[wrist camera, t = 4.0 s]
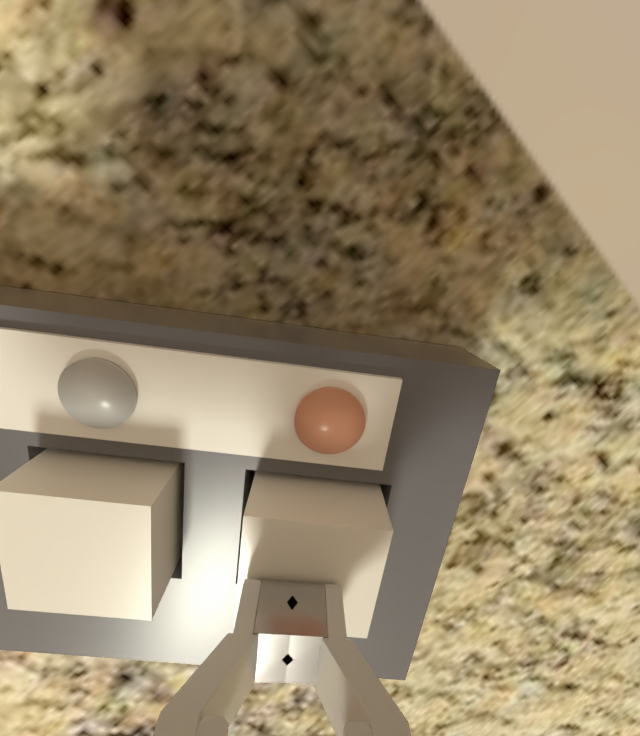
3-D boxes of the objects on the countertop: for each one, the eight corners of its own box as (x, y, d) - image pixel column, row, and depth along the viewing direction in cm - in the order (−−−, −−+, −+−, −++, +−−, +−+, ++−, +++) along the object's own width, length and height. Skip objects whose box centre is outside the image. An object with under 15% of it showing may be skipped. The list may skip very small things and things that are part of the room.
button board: (460, 347, 13) (507, 374, 10) (390, 611, 17) (407, 691, 14) (-200, 258, 12) (-389, 257, 9) (-110, 568, 16) (-217, 645, 13)
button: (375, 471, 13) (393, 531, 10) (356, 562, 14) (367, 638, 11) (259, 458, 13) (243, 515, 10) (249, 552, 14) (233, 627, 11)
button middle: (188, 450, 13) (150, 506, 10) (185, 546, 14) (151, 620, 11) (63, 436, 12) (-13, 490, 9) (72, 535, 14) (8, 609, 11)
